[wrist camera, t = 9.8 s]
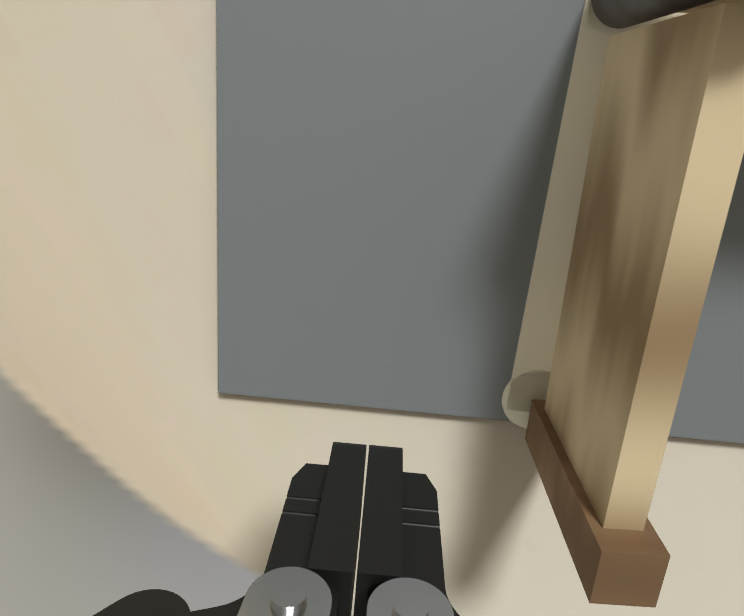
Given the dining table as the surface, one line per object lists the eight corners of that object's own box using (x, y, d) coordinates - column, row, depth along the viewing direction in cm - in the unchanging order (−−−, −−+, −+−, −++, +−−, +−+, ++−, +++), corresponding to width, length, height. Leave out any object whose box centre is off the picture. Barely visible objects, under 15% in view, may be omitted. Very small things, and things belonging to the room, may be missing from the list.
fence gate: (590, 37, 16) (734, -6, 9) (648, 40, 16) (832, -2, 9) (525, 438, 21) (589, 603, 14) (569, 441, 21) (655, 607, 14)
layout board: (1233, -273, 14) (1262, -285, 14) (885, 456, 21) (896, 464, 21) (219, -369, 14) (213, -385, 14) (221, 392, 21) (217, 398, 21)
